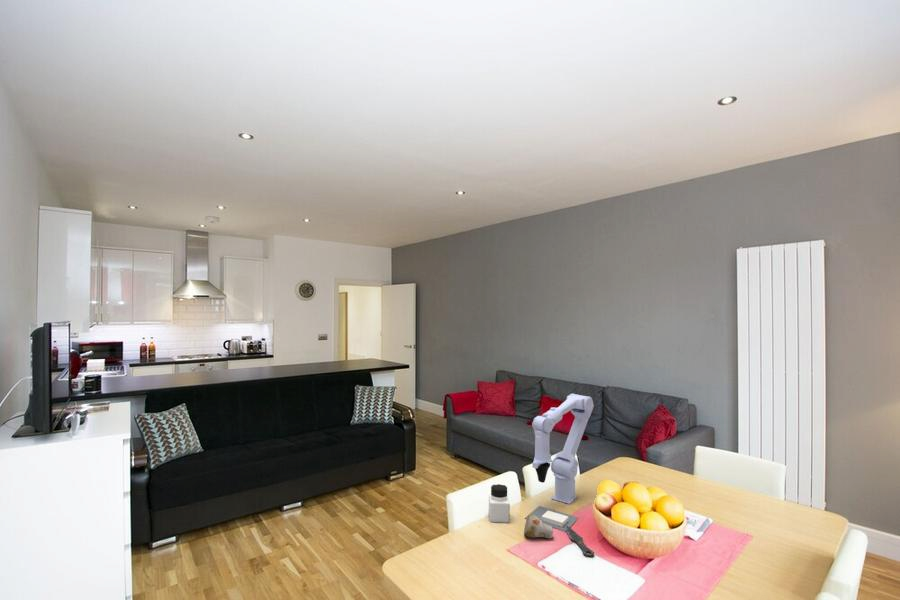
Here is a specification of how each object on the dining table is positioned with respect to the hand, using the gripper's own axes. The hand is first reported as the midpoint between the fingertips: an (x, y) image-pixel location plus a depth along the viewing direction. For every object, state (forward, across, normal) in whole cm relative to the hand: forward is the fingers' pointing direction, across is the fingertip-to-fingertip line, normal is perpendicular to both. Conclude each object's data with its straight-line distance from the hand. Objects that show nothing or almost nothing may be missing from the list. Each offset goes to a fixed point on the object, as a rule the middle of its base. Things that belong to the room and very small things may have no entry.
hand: (541, 481), depth 168 cm
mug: (+10, -22, -8) cm, 26 cm away
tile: (+9, -6, -9) cm, 14 cm away
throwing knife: (+10, -17, -20) cm, 28 cm away
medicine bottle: (+10, -18, +9) cm, 23 cm away
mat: (+10, -7, -7) cm, 14 cm away
